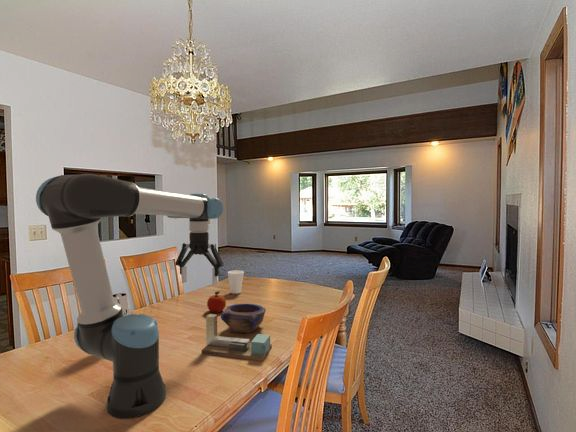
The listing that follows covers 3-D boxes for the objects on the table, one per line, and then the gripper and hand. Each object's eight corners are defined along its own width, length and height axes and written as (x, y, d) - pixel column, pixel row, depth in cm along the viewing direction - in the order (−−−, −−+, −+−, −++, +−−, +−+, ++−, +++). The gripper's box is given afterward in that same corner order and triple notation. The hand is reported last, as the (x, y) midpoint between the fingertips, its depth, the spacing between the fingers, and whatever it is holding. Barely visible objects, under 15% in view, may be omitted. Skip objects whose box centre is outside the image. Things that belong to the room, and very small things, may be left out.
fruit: (203, 313, 162) (203, 294, 162) (212, 307, 172) (212, 289, 171) (221, 315, 160) (220, 295, 160) (228, 309, 169) (228, 290, 169)
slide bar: (247, 349, 120) (246, 320, 119) (206, 344, 124) (206, 316, 123) (249, 346, 122) (249, 317, 122) (210, 341, 126) (209, 314, 126)
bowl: (270, 323, 149) (270, 302, 148) (256, 339, 132) (256, 315, 131) (235, 319, 154) (234, 299, 153) (217, 334, 136) (216, 311, 136)
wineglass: (106, 350, 122) (105, 298, 121) (111, 341, 130) (110, 293, 129) (128, 347, 124) (127, 297, 123) (132, 339, 132) (131, 291, 131)
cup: (247, 292, 201) (247, 271, 201) (236, 296, 193) (236, 274, 192) (235, 289, 207) (235, 269, 206) (224, 293, 198) (224, 272, 198)
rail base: (262, 360, 114) (262, 351, 114) (201, 353, 120) (201, 343, 120) (271, 347, 124) (271, 338, 124) (215, 340, 130) (215, 332, 130)
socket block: (264, 355, 116) (264, 343, 115) (251, 353, 117) (251, 341, 117) (270, 346, 122) (270, 335, 122) (257, 345, 124) (257, 333, 123)
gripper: (231, 231, 132) (231, 282, 133) (176, 230, 137) (176, 279, 138) (223, 233, 125) (224, 287, 125) (166, 231, 130) (166, 283, 130)
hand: (199, 283), depth 131 cm, fingers open, 13 cm apart
